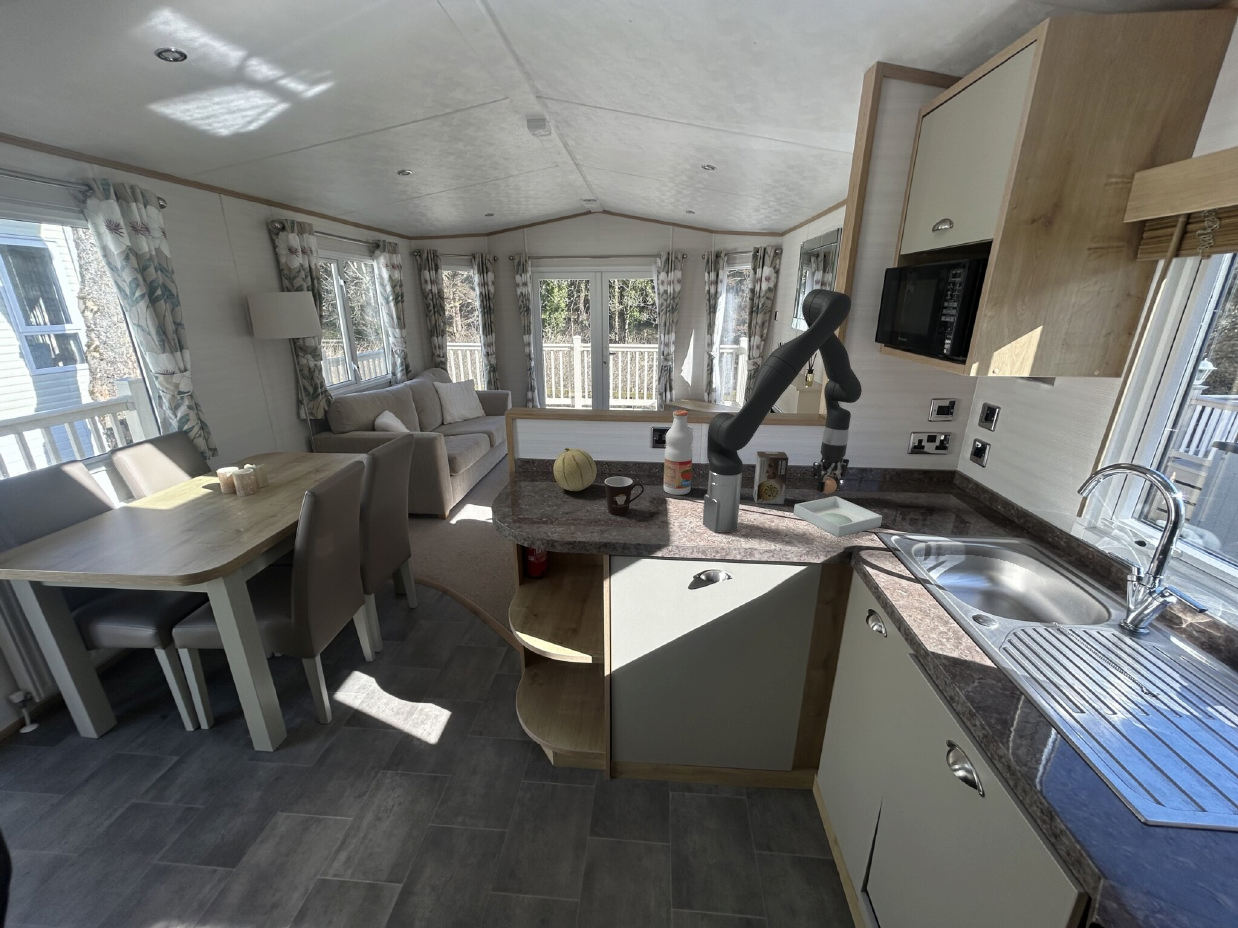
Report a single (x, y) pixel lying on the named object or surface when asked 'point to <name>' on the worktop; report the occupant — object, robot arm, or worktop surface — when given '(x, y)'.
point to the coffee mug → (619, 494)
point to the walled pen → (837, 516)
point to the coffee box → (770, 477)
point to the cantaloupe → (574, 469)
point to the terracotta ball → (829, 485)
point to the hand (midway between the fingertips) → (827, 489)
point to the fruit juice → (678, 456)
